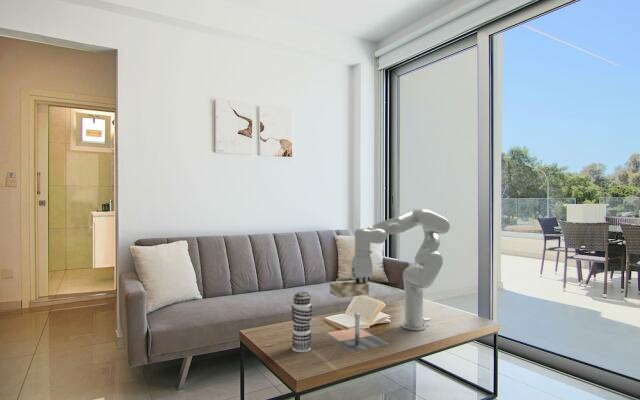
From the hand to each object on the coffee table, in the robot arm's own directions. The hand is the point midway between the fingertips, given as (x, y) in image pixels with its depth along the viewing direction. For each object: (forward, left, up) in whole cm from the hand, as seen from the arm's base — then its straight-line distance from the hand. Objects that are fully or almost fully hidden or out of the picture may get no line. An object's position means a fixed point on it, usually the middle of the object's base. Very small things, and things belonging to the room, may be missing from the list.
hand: (361, 290), depth 193 cm
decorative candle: (+34, +4, -22) cm, 41 cm away
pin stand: (+7, +6, -22) cm, 24 cm away
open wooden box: (+7, 0, -1) cm, 7 cm away
